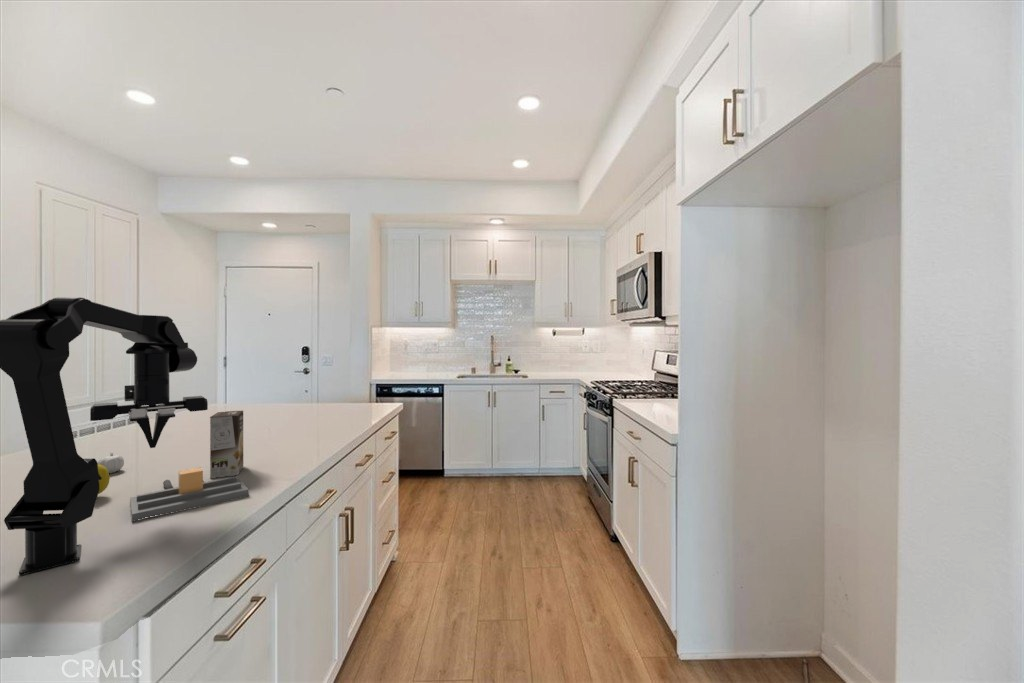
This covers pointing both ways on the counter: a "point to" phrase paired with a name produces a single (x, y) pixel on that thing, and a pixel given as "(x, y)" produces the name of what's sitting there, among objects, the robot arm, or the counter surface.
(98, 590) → the counter surface
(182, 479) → the light orange rectangular block
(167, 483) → the dark grey parallel rods
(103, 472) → the lemon
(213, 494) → the plate
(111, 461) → the garlic
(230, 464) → the coffee box
